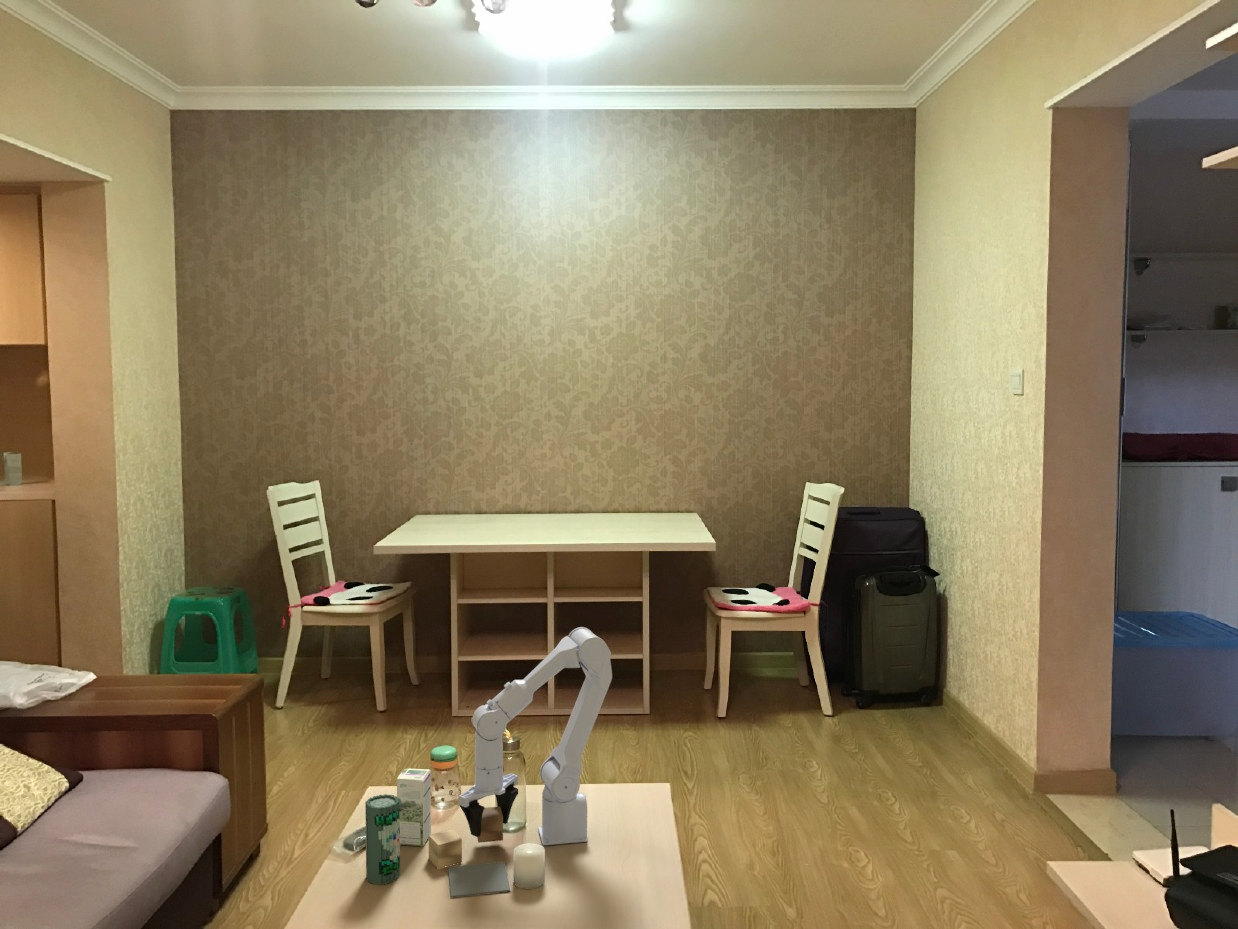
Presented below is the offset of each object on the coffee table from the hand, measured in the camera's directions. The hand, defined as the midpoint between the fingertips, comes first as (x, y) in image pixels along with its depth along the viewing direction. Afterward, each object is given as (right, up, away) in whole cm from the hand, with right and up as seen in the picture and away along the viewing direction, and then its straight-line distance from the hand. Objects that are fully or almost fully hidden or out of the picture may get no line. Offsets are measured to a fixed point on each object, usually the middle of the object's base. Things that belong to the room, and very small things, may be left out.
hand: (489, 828), depth 197 cm
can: (-19, -5, -12) cm, 23 cm away
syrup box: (-16, -4, +3) cm, 17 cm away
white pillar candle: (+9, -5, -13) cm, 17 cm away
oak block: (-8, -4, -6) cm, 11 cm away
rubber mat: (0, -5, -13) cm, 14 cm away
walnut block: (0, -2, 0) cm, 2 cm away
